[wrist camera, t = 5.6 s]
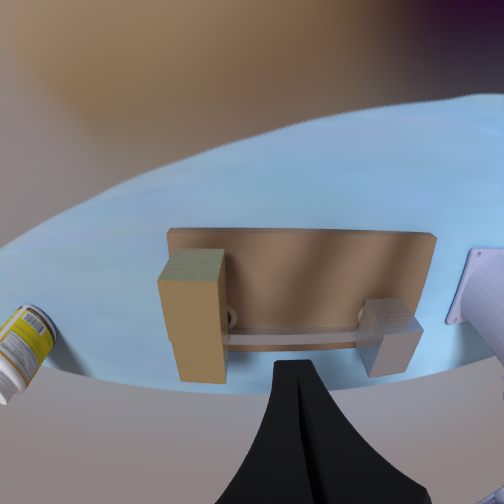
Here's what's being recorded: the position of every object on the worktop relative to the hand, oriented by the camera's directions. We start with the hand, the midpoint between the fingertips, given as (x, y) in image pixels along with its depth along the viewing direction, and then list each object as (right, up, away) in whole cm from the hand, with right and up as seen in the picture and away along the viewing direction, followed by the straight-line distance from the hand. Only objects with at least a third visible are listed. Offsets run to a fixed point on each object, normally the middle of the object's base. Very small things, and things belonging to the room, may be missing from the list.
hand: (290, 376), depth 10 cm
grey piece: (+2, 0, +10) cm, 11 cm away
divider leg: (-5, +2, +9) cm, 10 cm away
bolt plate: (+2, +2, +11) cm, 11 cm away
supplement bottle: (-24, -3, +13) cm, 27 cm away
